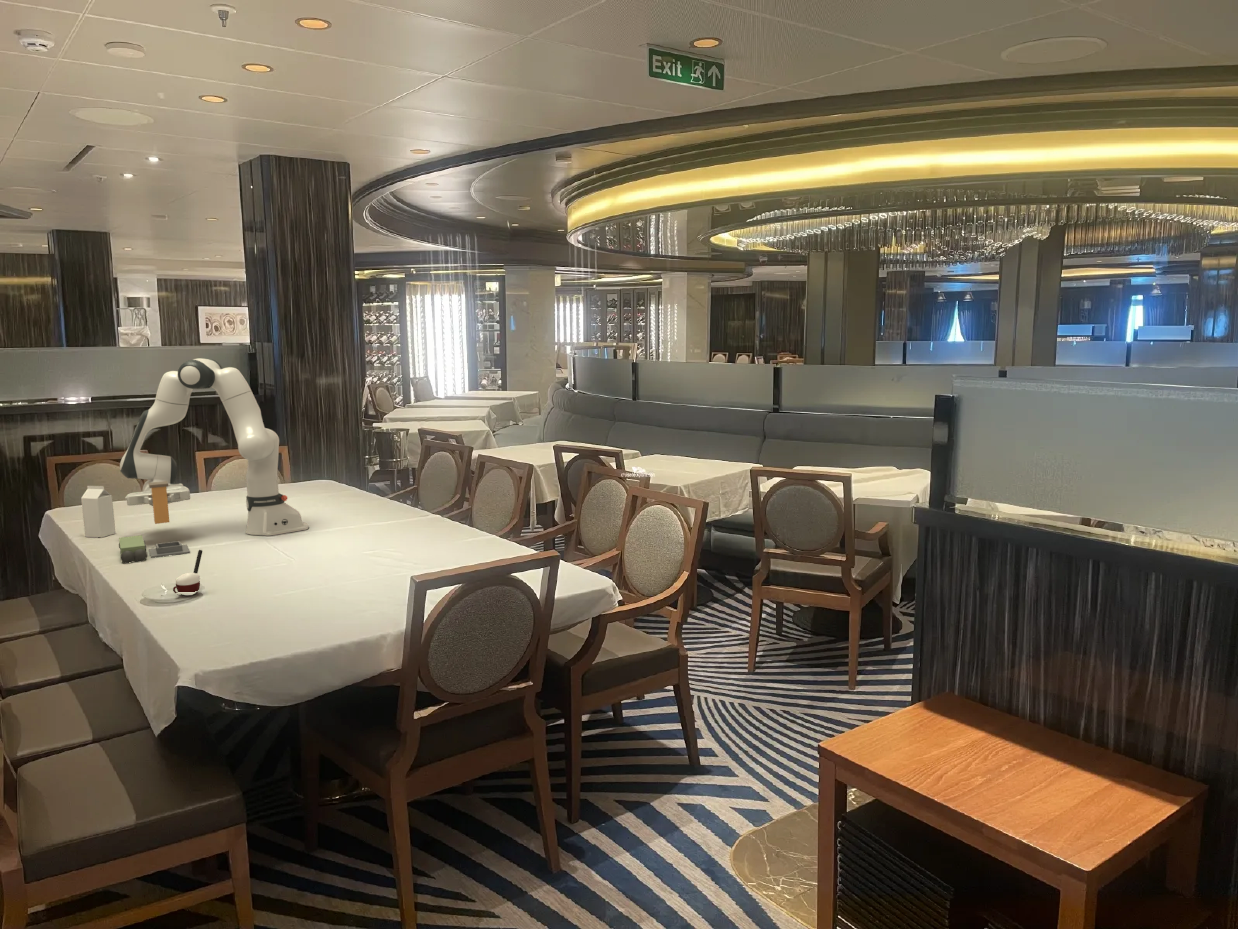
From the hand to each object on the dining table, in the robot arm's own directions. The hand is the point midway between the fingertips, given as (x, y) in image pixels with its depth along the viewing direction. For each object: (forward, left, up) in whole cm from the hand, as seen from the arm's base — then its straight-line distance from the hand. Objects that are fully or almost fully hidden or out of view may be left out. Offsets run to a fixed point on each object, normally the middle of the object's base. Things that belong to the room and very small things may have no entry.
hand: (160, 500), depth 304 cm
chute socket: (-1, +10, -17) cm, 19 cm away
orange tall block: (0, -1, -8) cm, 8 cm away
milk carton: (+19, -33, -17) cm, 42 cm away
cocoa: (-2, +69, -17) cm, 71 cm away
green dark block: (+10, +9, -17) cm, 21 cm away
